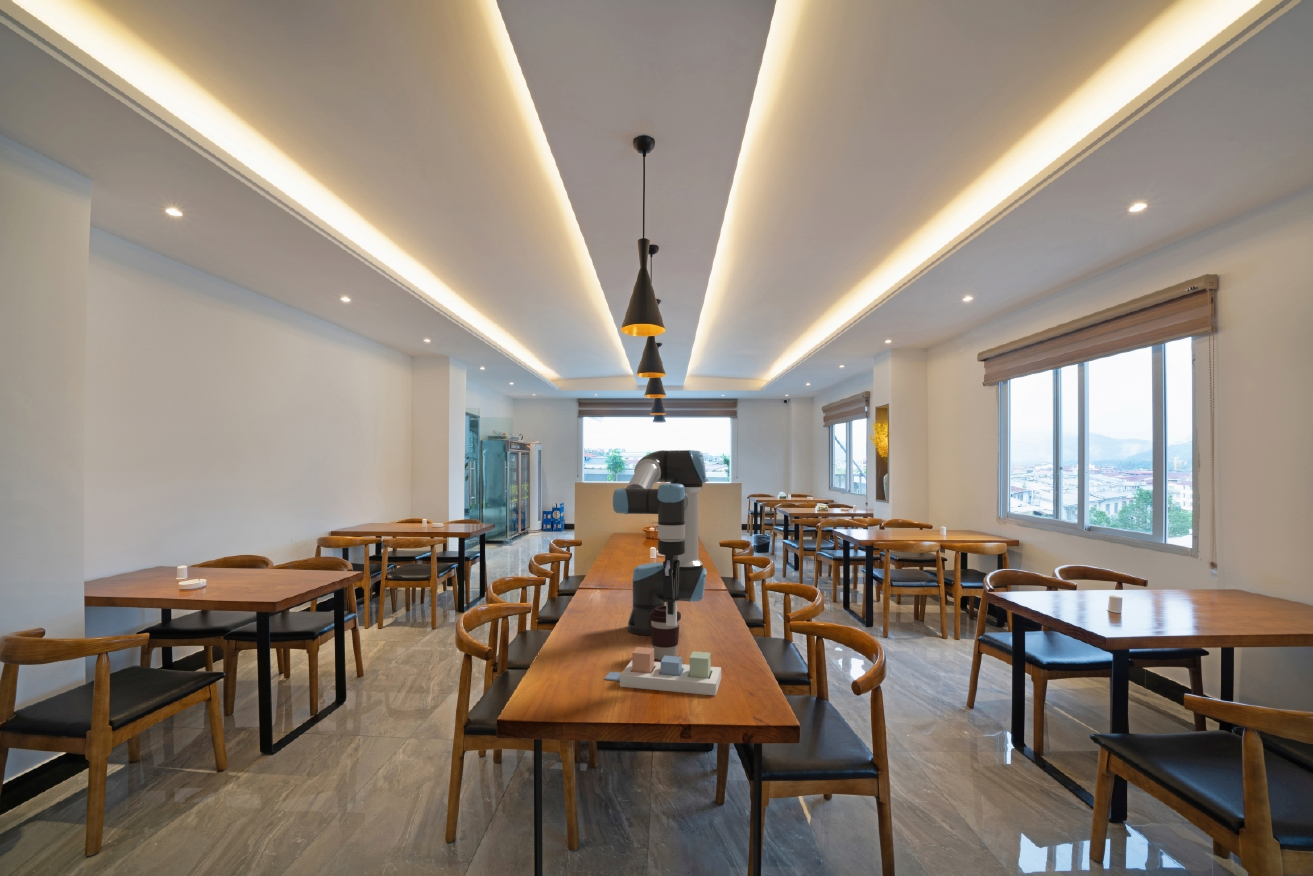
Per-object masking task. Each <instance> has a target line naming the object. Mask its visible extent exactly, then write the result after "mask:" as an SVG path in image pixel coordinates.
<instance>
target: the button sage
mask: <svg viewBox="0 0 1313 876" xmlns="http://www.w3.org/2000/svg"><path fill="white" fill-rule="evenodd" d="M711 656H712V655H711V652H706V651H705V652H703V651H692V652H691V653H690V656H689V665H690V677H694V678H705V679H708V678H709V675H710V672H711V667H712V666H711V664H712V662H711Z"/></svg>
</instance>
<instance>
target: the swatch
mask: <svg viewBox="0 0 1313 876" xmlns="http://www.w3.org/2000/svg"><path fill="white" fill-rule="evenodd" d="M621 673H622V672H618V671H609V672H608V674H607V675H606V676H604V680H605V681H613V682H614V681H615V682H620V674H621Z"/></svg>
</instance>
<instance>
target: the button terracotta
mask: <svg viewBox="0 0 1313 876" xmlns="http://www.w3.org/2000/svg"><path fill="white" fill-rule="evenodd" d="M631 656H632V657H631V660H632V672H638V673H651V671H652V670H653V668H654V662H655V658H654V648H653V647H643V646H642V647H641V646H637V647H636V648H635V649H634V650H633V651H632V654H631Z"/></svg>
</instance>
